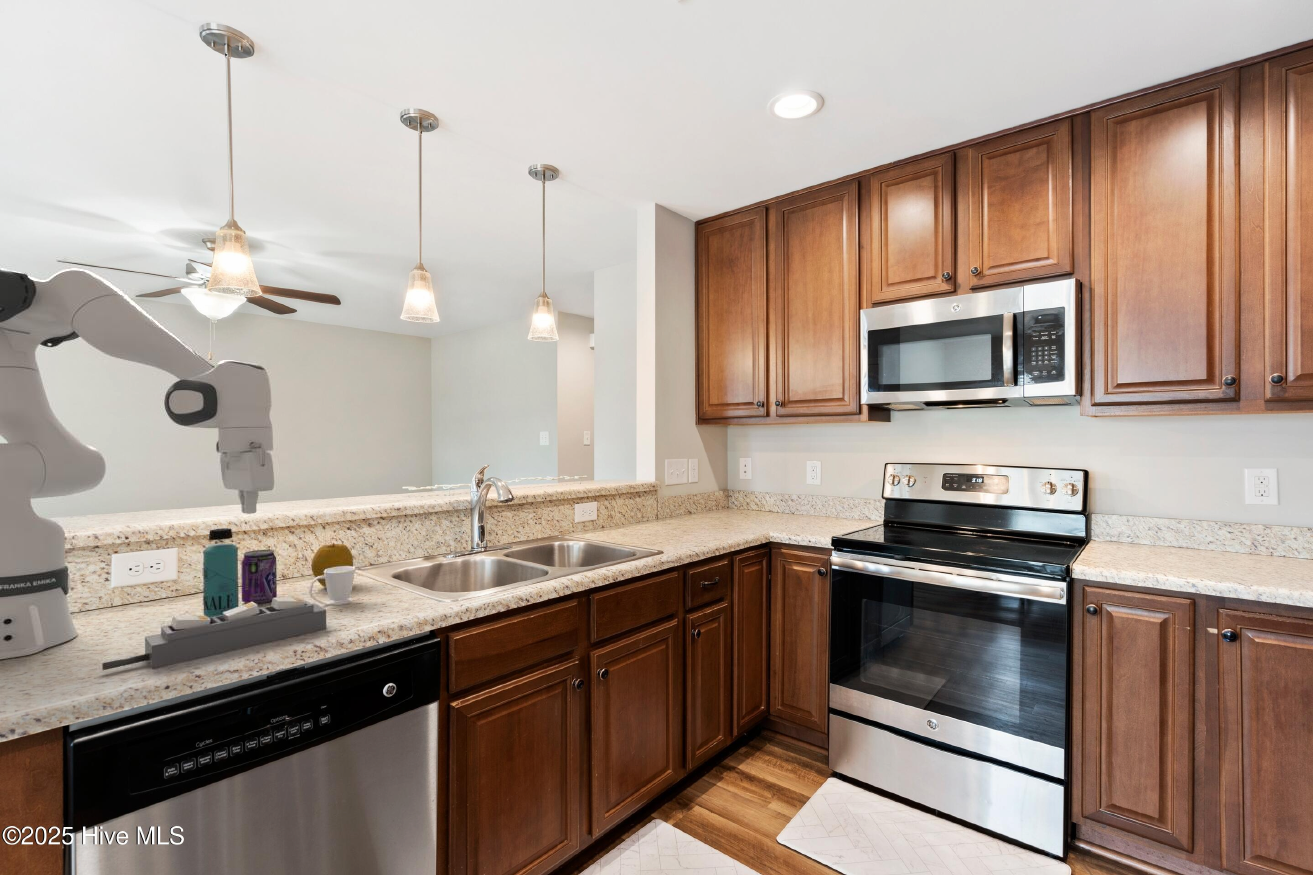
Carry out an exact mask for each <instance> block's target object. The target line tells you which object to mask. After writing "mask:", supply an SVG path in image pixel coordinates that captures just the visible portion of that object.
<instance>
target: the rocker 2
mask: <svg viewBox="0 0 1313 875" xmlns="http://www.w3.org/2000/svg"><path fill="white" fill-rule="evenodd" d="M259 608H260V607H259V604H255V603H254V602H250V603H244V604H242V605H239V607H236V608H234V609H231V610H228V611H225V612H223V615H224V619H225V621H230V620H235V619H240V618H245V617H250V616H252V615H255V614H258V613H260V612H259Z"/></svg>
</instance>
